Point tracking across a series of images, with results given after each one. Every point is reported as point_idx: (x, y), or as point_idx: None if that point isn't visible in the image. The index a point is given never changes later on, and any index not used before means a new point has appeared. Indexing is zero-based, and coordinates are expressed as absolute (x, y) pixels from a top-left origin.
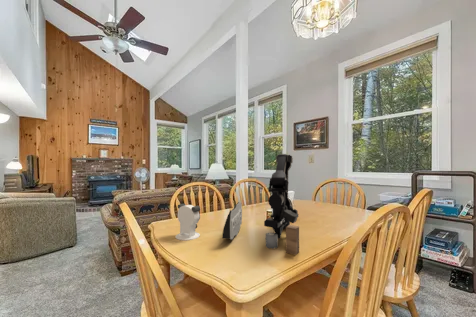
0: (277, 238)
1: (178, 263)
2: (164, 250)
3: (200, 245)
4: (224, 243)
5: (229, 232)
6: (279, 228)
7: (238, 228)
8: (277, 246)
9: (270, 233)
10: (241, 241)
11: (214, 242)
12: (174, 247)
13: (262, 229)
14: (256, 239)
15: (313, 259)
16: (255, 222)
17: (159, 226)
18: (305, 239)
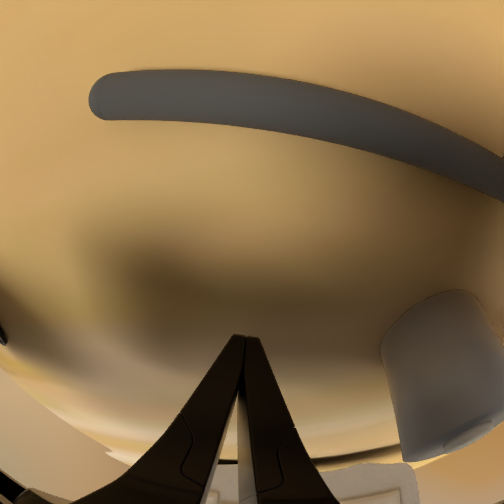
0: (492, 365)
1: (497, 425)
2: (428, 463)
3: (402, 461)
4: (383, 452)
5: (414, 490)
6: (321, 495)
7: (226, 478)
8: (457, 295)
9: (457, 448)
10: (352, 441)
11: (375, 461)
12: (412, 467)
13: (94, 403)
14: (297, 422)
15: None
16: (51, 408)
17: None
18: (36, 26)
